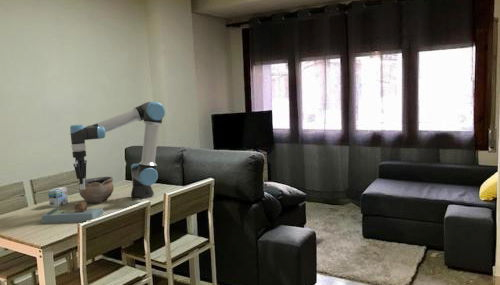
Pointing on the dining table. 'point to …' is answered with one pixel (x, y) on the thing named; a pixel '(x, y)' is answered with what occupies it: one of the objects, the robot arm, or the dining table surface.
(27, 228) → the dining table surface
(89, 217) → the box
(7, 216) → the dining table surface
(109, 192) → the ceramic bowl
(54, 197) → the white toy van
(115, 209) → the dining table surface
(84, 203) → the walnut block
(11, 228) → the dining table surface
